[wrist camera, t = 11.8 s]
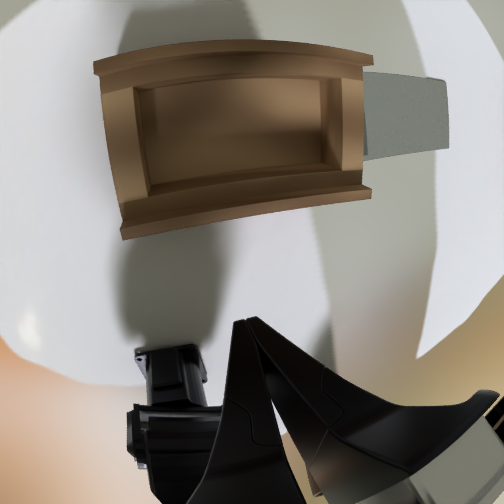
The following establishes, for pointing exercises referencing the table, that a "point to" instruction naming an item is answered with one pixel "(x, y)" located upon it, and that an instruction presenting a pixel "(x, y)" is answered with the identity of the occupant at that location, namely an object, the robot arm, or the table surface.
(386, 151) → the cover plate
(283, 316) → the table surface
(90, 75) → the table surface
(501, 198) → the table surface
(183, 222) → the walnut box
